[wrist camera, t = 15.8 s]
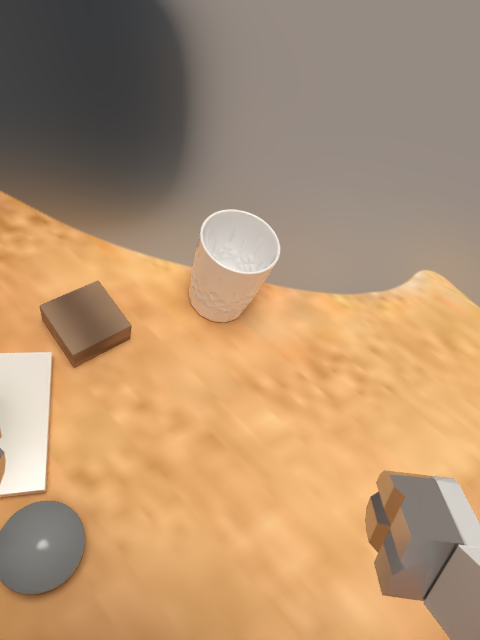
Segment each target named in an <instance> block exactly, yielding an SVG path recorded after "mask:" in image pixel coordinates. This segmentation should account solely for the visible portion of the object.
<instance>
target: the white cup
mask: <svg viewBox="0 0 480 640" xmlns="http://www.w3.org/2000/svg"><path fill="white" fill-rule="evenodd" d="M279 255H280V243H279V240H278V237H277V235H276V234H275V232H274V231H273V229H272V228H271V227H270V226H269V225H268V224H267V223H266V222H265V221H263V220H262V219H260V218H259V217H257V216H255V215H253V214H251V213H248V212H244V211H240V210H222V211H219V212H216V213H214V214H212V215H210V216H209V217H208V218H207V219H206V220H205V221H204V223H203V224H202V227H201V231H200V235H199V240H198V245H197V249H196V254H195V258H194V263H193V269H192V274H191V284H190V288H189V292H188V294H189V298H190V302H191V305H192V306H193V308H194V309H195V310H196V311H197V312H198V314H199V315H201V316H203V317H205V318H207V319H208V320H210V321H215V322H224V323H225V322H228V321H231V320H234V319H237V318H238V317H239V316H240V315H241V314H242V313H243V312H244V311H245V309H246V307H247V306H248V304H249V303H250V302H251V301H252V299H253V298H254V296H255V295H256V293H257V292H258V291H259V289H260V288H261V286H262V284H263V283H264V281H265V279H266V278H267V276H268V274H269V273H270V271H271V270H272V268H273V267H274V265H275V264H276V262H277V260H278V258H279Z"/></svg>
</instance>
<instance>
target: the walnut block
mask: <svg viewBox="0 0 480 640" xmlns="http://www.w3.org/2000/svg"><path fill="white" fill-rule="evenodd" d="M40 310H41V315H42V320H43V322H44V323H45V325H46V326H47V328H48V329H49V331H50V332H51V334H52V335H53V337H54V338H55V340H56V341H57V343H58V344H59V346H60V347H61V349H62V350H63V352H64V353H65V355H66V356H67V358H68V359H69V361H70V362H71V364H72V365H73V367H74V368H75V367H77V366H79V365H81V364H83V363H84V362H86V361H88V360H90V359H92V358H94V357H96V356H98V355H100V354H102V353H104V352H106V351H107V350H109V349H111V348H113V347H115V346H117V345H119V344H121V343H123V342H125V341H127V340H128V339H130V333H131V324H130V323H129V321H128V320H127V319H126V317H125V316H124V315H123V313H122V312H121V311H120V309H119V308H118V306H117V305H116V304H115V302H114V301H113V300H112V298H111V297H110V296H109V294H108V293H107V291H106V290H105V289H104V287H103V286H102V285H101V283H100V282H99V281H96V282H93V283H91V284H89V285H86V286H84V287H82V288H79V289H77V290H75V291H72V292H70V293H68V294H65V295H63V296H61V297H58V298H56V299H54V300H51V301H49V302H47V303H44V304H42V305H40Z"/></svg>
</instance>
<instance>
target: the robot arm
mask: <svg viewBox="0 0 480 640" xmlns="http://www.w3.org/2000/svg"><path fill="white" fill-rule="evenodd" d="M1 437H2V435H1V430H0V439H1ZM5 463H6V459H5V452H4V451H3V450H2V449H1V448H0V484H1V481H2V478H3V475H4V472H5ZM376 483H377V487H378V490H379V492H377V493H376V494H374V495H373V496H371V497H370V499H369V502H368V505H367V508H366V518H365V522H366V532H367V536H368V540H369V543H370V544H371V545H372V546H373V547H374V549H375V550H376V551H377V552H378V555H377V557H376V560H375V562H374V564H375V568H376V572H377V576H378V580H379V584H380V588H381V592H382V595H385V596H392V597H399V598H406V599H413V600H420V601H424V605H425V606H426V607H427V609H428V610H429V611H430V613H431V614H432V615H433V617H434V618H435V619H436V621H437V622H438V623H439V625H440V626H441V627H442V629H443V630H444V631H445V633H446V634H447V635H448V637H449V638H450V639H451V640H480V523H479V521H478V519H477V518H476V516H475V514H474V512H473V510H472V508H471V506H470V504H469V502H468V500H467V498H466V496H465V494H464V493H463V491H462V489H461V487H460V485H459V483H458V482H457V481H456V480H455V479H454V478H445V477H436V476H427V475H419V474H410V473H401V472H393V471H383V472H382V473H381V474H380V475H379V478H378V480H377V482H376Z"/></svg>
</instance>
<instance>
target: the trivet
mask: <svg viewBox="0 0 480 640" xmlns="http://www.w3.org/2000/svg"><path fill="white" fill-rule="evenodd" d="M52 365H53V356H52V352H35V353H0V430H1V435H2V437H1V439H0V448H1V449H2V450H3V451H4V452H5V459H6V463H5V472H4V475H3V478H2V481H1V484H0V498H2V497H10V496H19V495H27V494H36V493H45V492H46V486H47V466H48V446H49V425H50V405H51V385H52Z"/></svg>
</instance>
